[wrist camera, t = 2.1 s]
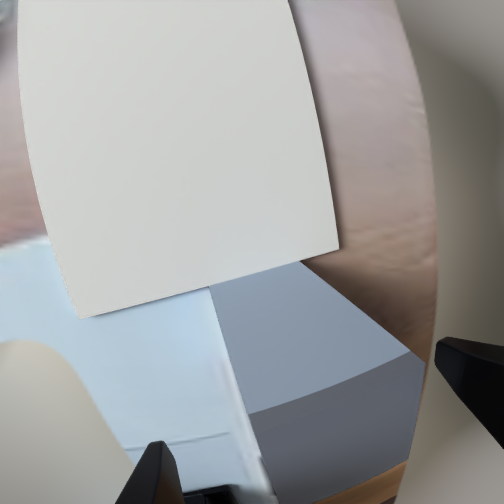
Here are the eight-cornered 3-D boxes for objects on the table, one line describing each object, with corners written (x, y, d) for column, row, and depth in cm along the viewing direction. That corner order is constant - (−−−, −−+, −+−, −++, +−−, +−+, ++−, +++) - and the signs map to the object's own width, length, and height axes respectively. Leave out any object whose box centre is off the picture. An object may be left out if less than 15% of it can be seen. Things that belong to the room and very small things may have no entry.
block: (305, 331, 16) (408, 459, 7) (228, 355, 15) (283, 512, 7) (293, 256, 15) (425, 362, 6) (207, 280, 14) (255, 433, 6)
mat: (333, 245, 15) (339, 249, 14) (82, 313, 13) (78, 319, 13) (263, -57, 10) (266, -63, 10) (23, -4, 8) (19, -8, 8)
